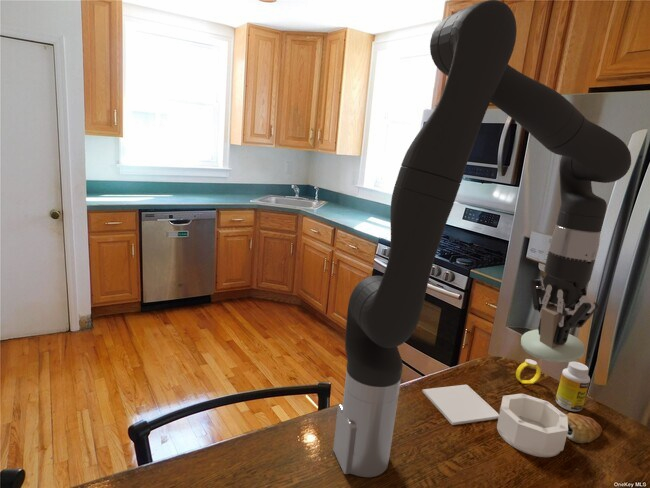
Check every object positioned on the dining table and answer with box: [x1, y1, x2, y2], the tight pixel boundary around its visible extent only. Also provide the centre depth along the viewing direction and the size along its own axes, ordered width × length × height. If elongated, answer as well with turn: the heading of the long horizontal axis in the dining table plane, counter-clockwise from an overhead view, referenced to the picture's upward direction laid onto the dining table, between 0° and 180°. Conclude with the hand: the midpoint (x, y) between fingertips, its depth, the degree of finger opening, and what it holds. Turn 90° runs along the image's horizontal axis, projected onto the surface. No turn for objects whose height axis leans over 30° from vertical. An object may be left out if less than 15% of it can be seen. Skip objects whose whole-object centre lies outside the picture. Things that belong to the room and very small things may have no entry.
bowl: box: [496, 393, 568, 458], centre depth 86 cm, size 12×12×6 cm
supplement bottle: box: [555, 361, 591, 413], centre depth 98 cm, size 6×6×10 cm
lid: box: [520, 306, 586, 364], centre depth 81 cm, size 11×11×8 cm
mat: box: [422, 384, 499, 426], centre depth 95 cm, size 12×12×1 cm
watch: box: [515, 358, 542, 385], centre depth 106 cm, size 6×3×6 cm, turn 99°
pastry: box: [563, 412, 603, 444], centre depth 89 cm, size 9×7×4 cm
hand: (551, 339), depth 82 cm, fingers closed on lid, 3 cm apart
